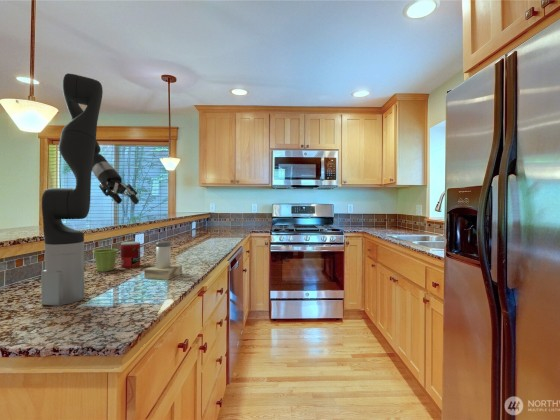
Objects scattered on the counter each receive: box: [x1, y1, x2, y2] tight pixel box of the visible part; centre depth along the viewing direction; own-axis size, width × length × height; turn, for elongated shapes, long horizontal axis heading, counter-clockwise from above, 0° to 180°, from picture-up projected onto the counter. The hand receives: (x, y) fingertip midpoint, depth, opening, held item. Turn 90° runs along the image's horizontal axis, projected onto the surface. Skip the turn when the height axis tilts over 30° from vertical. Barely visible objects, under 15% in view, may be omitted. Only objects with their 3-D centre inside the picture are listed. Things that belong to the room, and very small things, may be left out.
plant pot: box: [91, 248, 119, 273], centre depth 121 cm, size 9×9×9 cm
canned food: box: [120, 241, 141, 269], centre depth 129 cm, size 8×8×11 cm
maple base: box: [143, 264, 183, 281], centre depth 113 cm, size 10×10×4 cm
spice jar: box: [155, 240, 172, 269], centre depth 112 cm, size 6×6×10 cm
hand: (129, 202), depth 114 cm, fingers open, 8 cm apart
